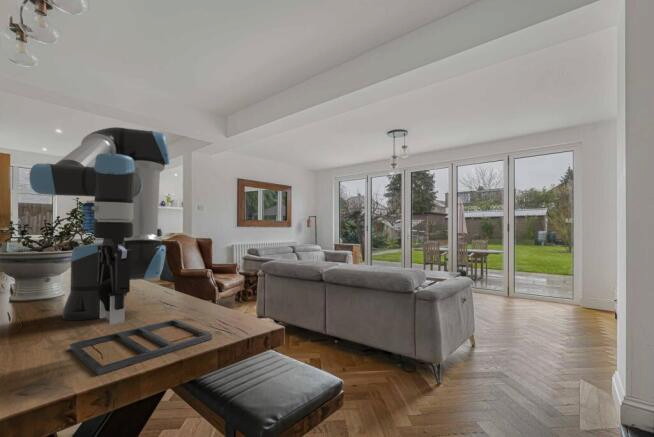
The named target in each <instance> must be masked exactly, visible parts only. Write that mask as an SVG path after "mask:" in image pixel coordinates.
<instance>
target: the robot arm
mask: <svg viewBox="0 0 654 437" xmlns="http://www.w3.org/2000/svg"><path fill="white" fill-rule="evenodd" d="M169 164H170V154H169V147H168V140H167V136H166V135H165V134H164V133H163V132H159V131H153V130H145V129H144V130H141V129H133V128H125V127H117V126H116V127H115V126H114V127H113V126H112V127H106V128H102V129H99V130H98V129H97V130H95V131H93V132H91V133H89V134H87V135H86V136H85V137H83V139H82V140H81V143H80V144H79V146H77V147H76V148H75V149H73V150H72V151H70V152H69V153H68V154H66V155H65V156H64V157H63V158H61V159H60V160H59V161H58V162H55V163H49V162H46V163H35V164H33V165H32V167H31V169H30V170H29V184H30V187H31V189H32V190H33V191H34V192H35V193H37V194H39V195H48V196H49V195H51V196H65V197H68V196H71V197H72V196H73V197H94V205H92V206H91V207H90V208H91V210H92V211H94V216H93V218H94V219H95V220H97V221H95V222H94V223H93V237H94V238H95V239H100V240H101V239H103V240H102V242H101V243H91V244H86V245H85V244H83V245H78V246H76V247H74V248H73V249H72V251H71V257H70V259H71V260H70V290H69V295H68V297H67V300H66V302H65V304H64V307H63V308H62V316H61V318H62V319H63V320H66V321H85V320H93V319H106V311H105V308H104V304H103V302H102V301H101V300H100V299H99V298H98V295H97V290H98V288H99V286H100V285H101V284H102V283H103V282H104V281H106V280H108V279H111V285H112V293H110V294H108V295H109V297H110V321H109V326H113V325H116V324H120V323H125V321H126V319H125V317H126V313H125V312H126V310H125V309H126V296H125V294H126V293H127V294H128V293H130V290H131V289H130V288H131V287H130V286H131V285H130V283H131V282H130V281H137V280H143V281H144V280H151V279H158V278H159V277H160V276H161V275H162V272H163V269H164V265H165V260H166V252H167V246H166V245H165V244H162V239H161V238H160V237H158V224H159V221H158V220H159V201H160V200H159V199H160V198H159V197H160V194H159V193H160V175H161V173H162V172H163V171H164V170H165V165H169Z"/></svg>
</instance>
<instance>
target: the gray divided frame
mask: <svg viewBox="0 0 654 437" xmlns="http://www.w3.org/2000/svg"><path fill="white" fill-rule="evenodd" d="M169 326H174V327H177V328H175V329H172V330H168V331H165V332H160V333H158V334H157V333H156V334H155V333H153V332H151V331H154V330H156V329H157V330H158V329H161V328H166V327H169ZM138 334H139V335H141V336H143V337H145V338H146V339H148V340H150V341H152V342H153V343H155V344H158V345H159V346H161V348H157V349H154V350H150V349H149V348H147V347H145V346H144V345H142V344H140V343H139V342H137V341H135V340H134V339H132V338H131V337H129V336H133V335H138ZM194 335H196V336H197V337H194V338H193V337H192V336H194ZM189 337H192V338H190V339H187V340H184V341H181V342H178V343H177V342H176V343H173V342H175V341H179V340H181V339H184V338H189ZM113 340H118V341H120V342H121V343H122V344H125V346H128V347H129V348H131V349H132V350H134V351H136V352H137V353H138V355H134V356H132V357H127V358H124V359H121V360H118V361H117V360H116V361H114V362H110V363H108V364H105V365H104V364H103V365H102V364H100V362H99V361H97V360H96V359H95V358H94V357H92V356H91V355H90V354H89V353H88V352H87V351H85V349H83V348H86V347H89V346H94V345H96V344H97V345H98V344H101V343H105V342H106V343H107V342H110V341H113ZM210 340H213V334H212V333H211V332H207V331H205V330H203V329H200V328H197V327H196V326H193V325H191V324H188V323H185V322H183V321H181V320H178V319H175V318H174V319H169V320H165V321H162V322H161V321H160V322H157V323H154V324H149V325H145V326H141V327H136V328H132V329H128V330H124V331H119V332H115V333H110V334H106V335H101V336H98V337H94V338H93V337H92V338H90V339H86V340H81V341H78V342H73V343H70V344H69V350H70V351H71V352H72V353H73V354H74V355H75V356H76V357H77V358H79V360H81V362H83V363H84V364H85V365H86V366H87V367H88V368H90V370H91V371H93V373H95V374H96V375H97V376H101V375H103V374H106V373H110V372H112V371H116V370H120V369H122V368H125V367H129V366H131V365H134V364H137V363H141V362H144V361H146V360H147V361H148V360H150V359H153V358H156V357H159V356H162V355H166V354H169V353H172V352H175V351H179V350H181V349H185V348H188V347H190V346H194V345H198V344H202V343H205V342H206V341H210Z"/></svg>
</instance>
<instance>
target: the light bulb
mask: <svg viewBox="0 0 654 437" xmlns="http://www.w3.org/2000/svg"><path fill="white" fill-rule="evenodd" d="M110 293H112V285H111V279H108V280H106V281H104V282H103V283H102V284H101V285H100V286H99V288H98V290H97V295H98V298H99V299H100V300H101V301H102V302H103V304H104V308H105V311H106V318H105V319H106V320H108V321H109V322H110V297H109V295H108V294H110ZM127 294H128V293H126V294H125V297H127Z"/></svg>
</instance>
